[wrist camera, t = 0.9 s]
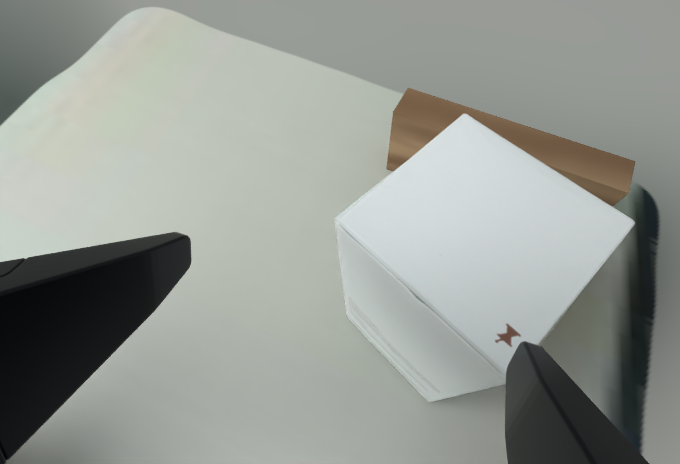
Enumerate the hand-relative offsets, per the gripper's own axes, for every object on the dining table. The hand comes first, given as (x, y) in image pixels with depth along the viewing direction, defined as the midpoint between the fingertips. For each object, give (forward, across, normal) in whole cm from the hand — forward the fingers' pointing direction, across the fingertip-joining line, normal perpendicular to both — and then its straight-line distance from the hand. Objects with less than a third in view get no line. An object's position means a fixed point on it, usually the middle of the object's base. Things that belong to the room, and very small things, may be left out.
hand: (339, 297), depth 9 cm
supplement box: (+12, -4, +9) cm, 15 cm away
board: (+20, -5, +2) cm, 21 cm away
